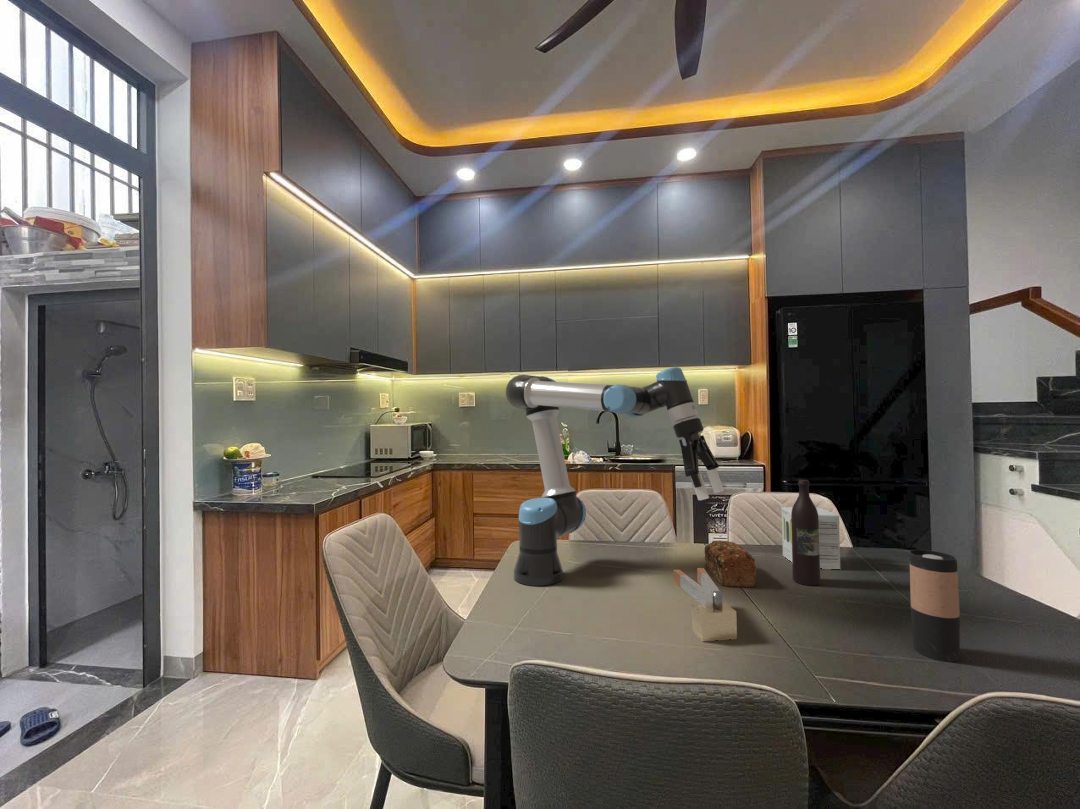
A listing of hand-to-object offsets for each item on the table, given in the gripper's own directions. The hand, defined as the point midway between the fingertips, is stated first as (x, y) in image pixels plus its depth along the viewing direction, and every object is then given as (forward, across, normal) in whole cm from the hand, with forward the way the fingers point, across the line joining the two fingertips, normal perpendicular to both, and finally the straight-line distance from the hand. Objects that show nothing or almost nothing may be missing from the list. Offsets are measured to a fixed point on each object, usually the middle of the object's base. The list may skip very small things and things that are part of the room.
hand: (711, 495), depth 122 cm
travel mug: (+41, -1, -34) cm, 53 cm away
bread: (+26, +21, +11) cm, 35 cm away
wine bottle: (+32, +30, -8) cm, 45 cm away
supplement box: (+32, +51, -6) cm, 61 cm away
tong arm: (+21, -13, +4) cm, 25 cm away
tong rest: (+27, -15, +8) cm, 32 cm away
